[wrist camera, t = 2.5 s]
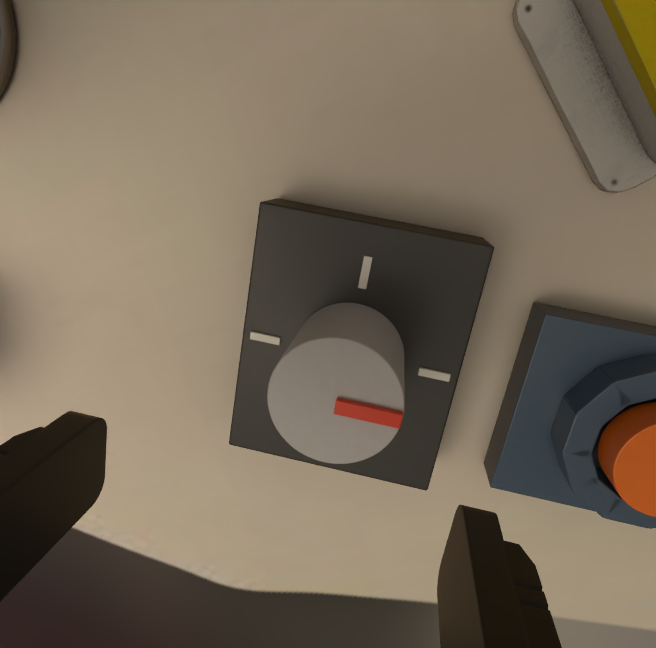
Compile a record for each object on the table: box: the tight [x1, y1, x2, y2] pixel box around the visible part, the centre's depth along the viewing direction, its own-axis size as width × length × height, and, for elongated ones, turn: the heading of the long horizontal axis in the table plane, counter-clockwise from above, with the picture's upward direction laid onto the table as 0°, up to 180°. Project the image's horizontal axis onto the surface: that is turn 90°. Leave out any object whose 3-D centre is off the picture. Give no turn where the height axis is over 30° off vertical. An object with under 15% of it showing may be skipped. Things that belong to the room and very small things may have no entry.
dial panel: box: [229, 199, 494, 490], centre depth 24 cm, size 10×12×3 cm
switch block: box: [484, 302, 656, 529], centre depth 23 cm, size 11×9×4 cm
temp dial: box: [267, 303, 405, 464], centre depth 21 cm, size 5×5×5 cm
